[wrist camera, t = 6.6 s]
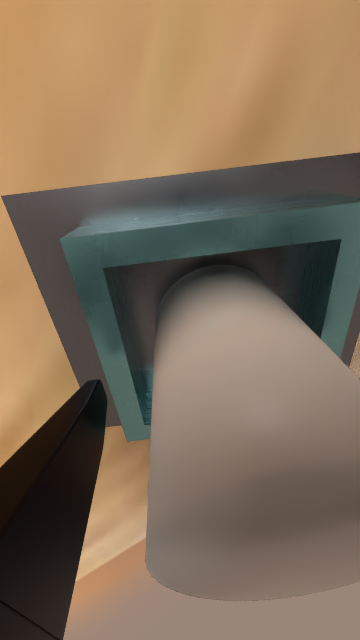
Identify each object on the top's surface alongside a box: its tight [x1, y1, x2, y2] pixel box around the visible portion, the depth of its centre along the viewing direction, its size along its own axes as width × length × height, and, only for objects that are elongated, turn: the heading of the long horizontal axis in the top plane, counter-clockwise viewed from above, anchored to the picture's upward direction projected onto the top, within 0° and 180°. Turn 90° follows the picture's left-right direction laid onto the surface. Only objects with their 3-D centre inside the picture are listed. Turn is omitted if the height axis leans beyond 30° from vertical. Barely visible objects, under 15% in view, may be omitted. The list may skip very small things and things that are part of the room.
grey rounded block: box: [145, 265, 360, 601], centre depth 8 cm, size 6×7×8 cm
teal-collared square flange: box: [1, 153, 360, 442], centre depth 12 cm, size 14×12×5 cm
